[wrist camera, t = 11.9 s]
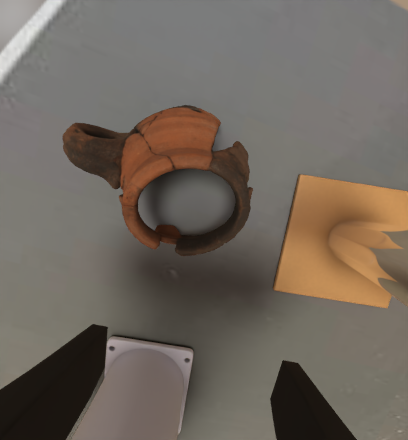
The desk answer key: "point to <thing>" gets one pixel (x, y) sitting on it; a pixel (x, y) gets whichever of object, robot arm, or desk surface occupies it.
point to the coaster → (319, 234)
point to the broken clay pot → (163, 168)
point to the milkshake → (374, 253)
